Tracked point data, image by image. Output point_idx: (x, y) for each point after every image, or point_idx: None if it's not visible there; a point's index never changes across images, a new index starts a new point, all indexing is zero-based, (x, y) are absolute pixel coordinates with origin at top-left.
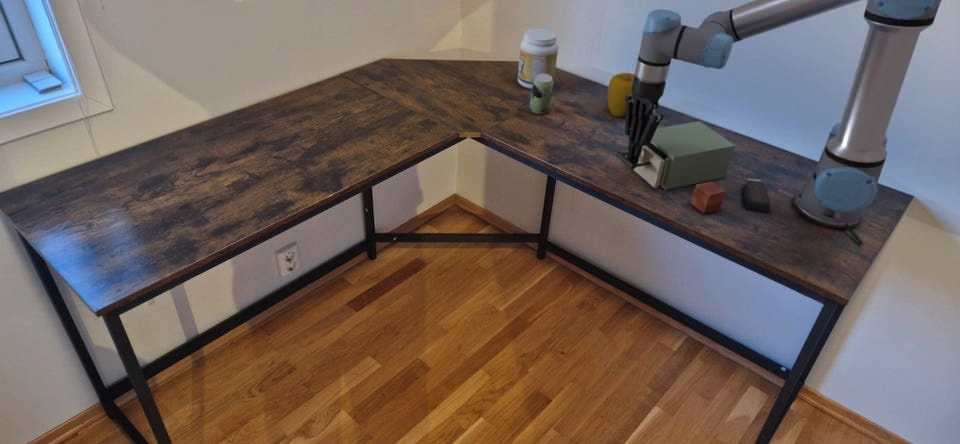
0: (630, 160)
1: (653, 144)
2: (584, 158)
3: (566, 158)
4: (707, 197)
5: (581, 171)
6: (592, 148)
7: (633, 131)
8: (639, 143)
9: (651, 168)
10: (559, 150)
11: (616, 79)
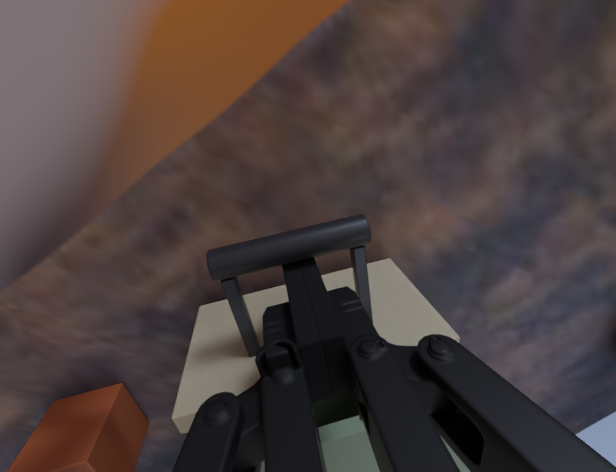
0: (284, 271)
1: (353, 417)
2: (480, 110)
3: (512, 13)
4: (13, 468)
5: (389, 45)
6: (528, 175)
7: (377, 433)
8: (222, 407)
9: (236, 341)
10: (583, 7)
11: None
